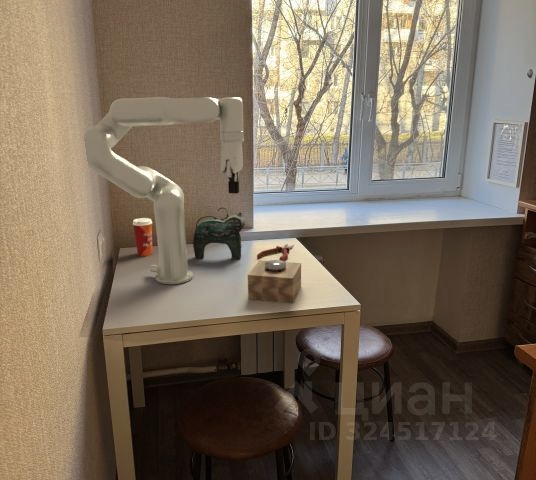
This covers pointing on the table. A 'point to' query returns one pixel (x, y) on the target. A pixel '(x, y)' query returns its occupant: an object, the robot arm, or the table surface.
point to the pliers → (275, 250)
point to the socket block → (274, 283)
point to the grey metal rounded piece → (275, 265)
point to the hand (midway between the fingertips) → (234, 192)
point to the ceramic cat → (219, 234)
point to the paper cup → (143, 236)
